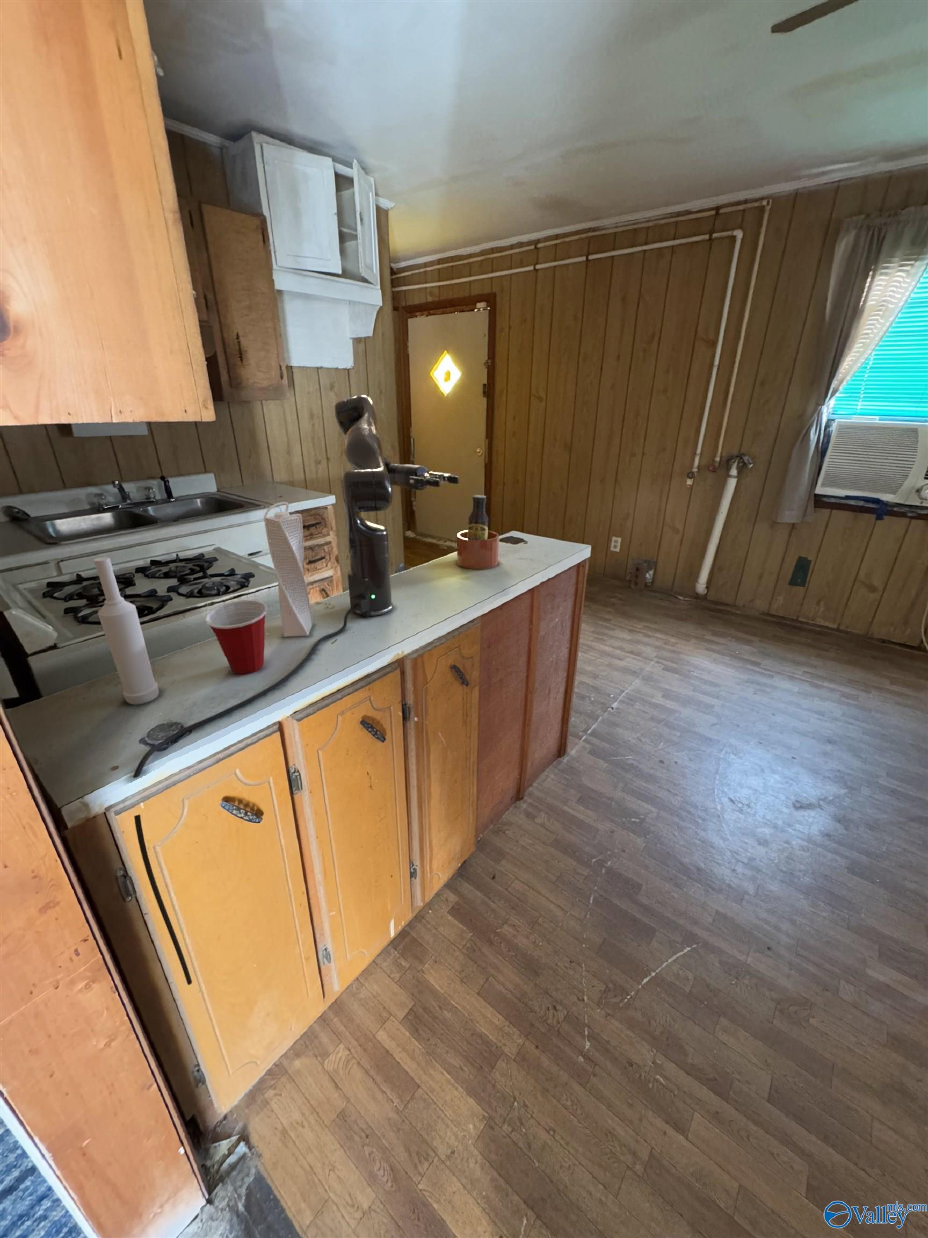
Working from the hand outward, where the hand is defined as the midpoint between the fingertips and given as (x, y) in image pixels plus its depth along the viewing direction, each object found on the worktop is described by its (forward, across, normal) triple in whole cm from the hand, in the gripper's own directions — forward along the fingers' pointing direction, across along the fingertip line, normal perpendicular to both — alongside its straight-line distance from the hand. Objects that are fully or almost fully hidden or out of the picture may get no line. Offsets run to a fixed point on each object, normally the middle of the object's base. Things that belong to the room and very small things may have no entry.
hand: (449, 481), depth 153 cm
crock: (+10, +2, +24) cm, 26 cm away
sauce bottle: (+9, +2, +24) cm, 25 cm away
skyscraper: (+11, -63, +25) cm, 68 cm away
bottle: (+14, -96, +25) cm, 100 cm away
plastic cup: (+18, -79, +25) cm, 84 cm away
